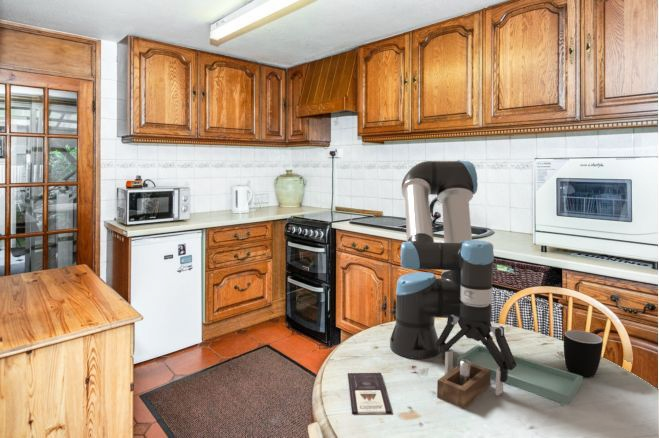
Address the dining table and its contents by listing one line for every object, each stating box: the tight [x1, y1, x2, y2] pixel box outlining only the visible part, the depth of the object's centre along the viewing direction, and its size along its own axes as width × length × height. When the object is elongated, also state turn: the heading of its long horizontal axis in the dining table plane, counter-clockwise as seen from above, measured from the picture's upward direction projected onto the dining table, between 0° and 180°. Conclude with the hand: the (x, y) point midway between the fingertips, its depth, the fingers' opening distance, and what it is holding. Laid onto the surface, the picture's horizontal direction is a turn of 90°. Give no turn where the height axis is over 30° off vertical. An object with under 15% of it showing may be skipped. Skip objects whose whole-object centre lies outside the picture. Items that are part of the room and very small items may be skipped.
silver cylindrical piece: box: [459, 359, 470, 386], centre depth 101 cm, size 3×3×8 cm
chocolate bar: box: [347, 372, 393, 415], centre depth 102 cm, size 9×1×18 cm
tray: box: [456, 343, 584, 406], centre depth 110 cm, size 28×13×2 cm, turn 45°
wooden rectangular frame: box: [436, 363, 491, 410], centre depth 102 cm, size 7×16×4 cm, turn 135°
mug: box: [563, 329, 604, 378], centre depth 112 cm, size 12×9×10 cm
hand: (472, 383), depth 104 cm, fingers open, 13 cm apart
